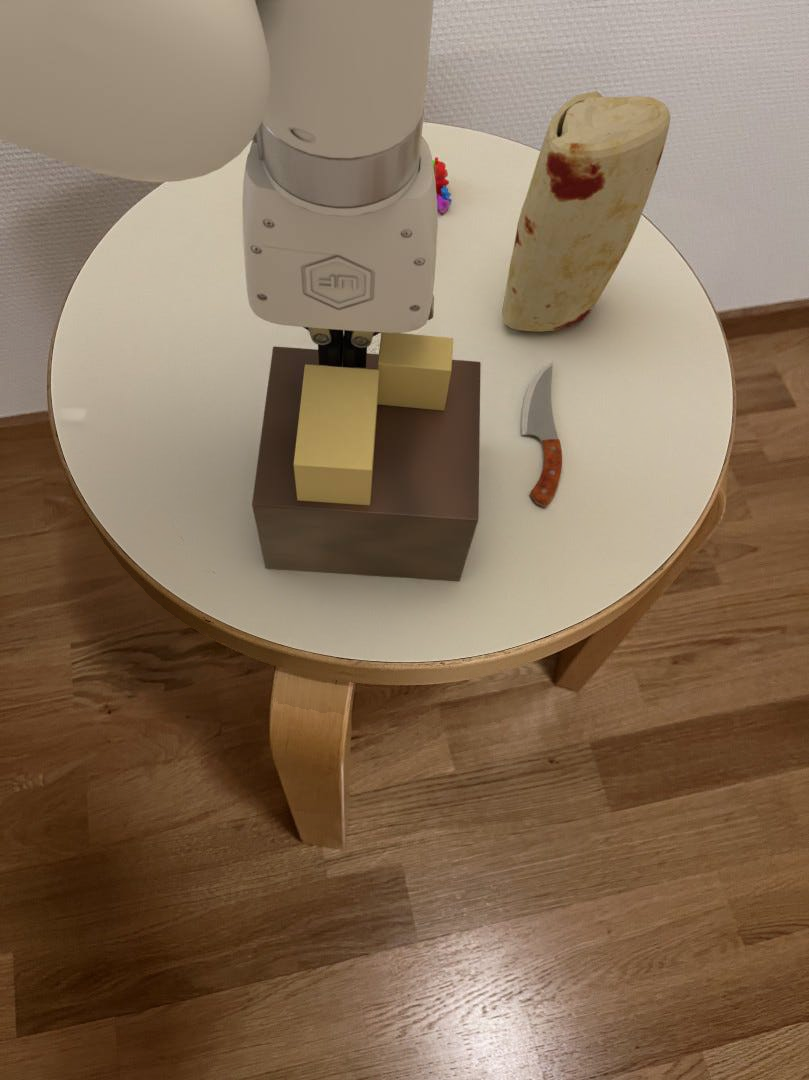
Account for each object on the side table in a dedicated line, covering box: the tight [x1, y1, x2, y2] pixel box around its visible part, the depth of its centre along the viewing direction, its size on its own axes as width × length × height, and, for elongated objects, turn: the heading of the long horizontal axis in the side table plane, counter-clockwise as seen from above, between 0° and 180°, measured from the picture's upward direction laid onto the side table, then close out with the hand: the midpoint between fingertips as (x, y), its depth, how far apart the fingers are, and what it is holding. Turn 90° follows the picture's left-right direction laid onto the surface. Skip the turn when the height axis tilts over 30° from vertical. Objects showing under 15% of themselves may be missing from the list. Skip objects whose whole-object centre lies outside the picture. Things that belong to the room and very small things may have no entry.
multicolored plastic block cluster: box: [432, 156, 453, 214], centre depth 79 cm, size 5×3×4 cm, turn 5°
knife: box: [521, 360, 563, 508], centre depth 70 cm, size 13×1×3 cm
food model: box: [501, 90, 671, 332], centre depth 66 cm, size 10×7×20 cm
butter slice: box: [377, 332, 454, 411], centre depth 57 cm, size 4×2×4 cm, turn 86°
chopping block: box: [251, 345, 482, 582], centre depth 62 cm, size 14×12×10 cm
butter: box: [294, 365, 379, 505], centre depth 55 cm, size 4×7×4 cm, turn 177°
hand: (343, 366), depth 58 cm, fingers closed
